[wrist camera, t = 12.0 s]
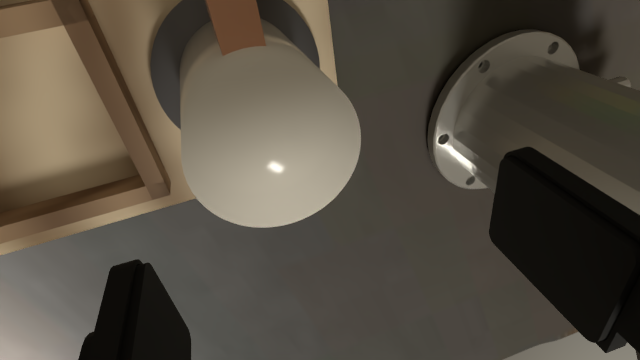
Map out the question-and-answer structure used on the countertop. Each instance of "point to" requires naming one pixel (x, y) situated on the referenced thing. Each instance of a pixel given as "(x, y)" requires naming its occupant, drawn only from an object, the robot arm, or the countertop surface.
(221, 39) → the jug
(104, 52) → the jug stand
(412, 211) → the countertop surface
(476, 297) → the countertop surface
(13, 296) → the countertop surface
